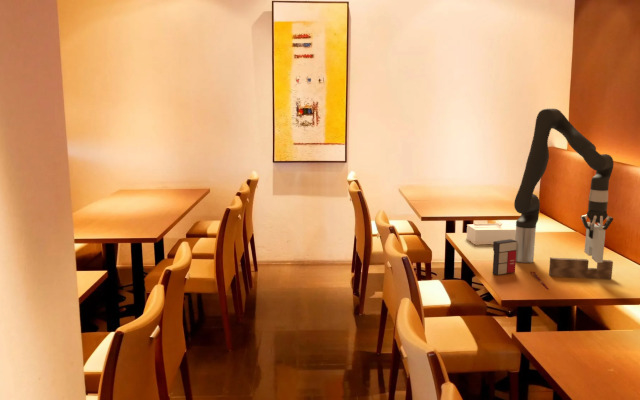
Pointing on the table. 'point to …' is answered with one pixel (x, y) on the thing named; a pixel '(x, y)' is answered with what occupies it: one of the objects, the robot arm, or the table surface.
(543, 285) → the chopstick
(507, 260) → the grey red box
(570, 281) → the table surface
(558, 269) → the walnut board
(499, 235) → the tissue box
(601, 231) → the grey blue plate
